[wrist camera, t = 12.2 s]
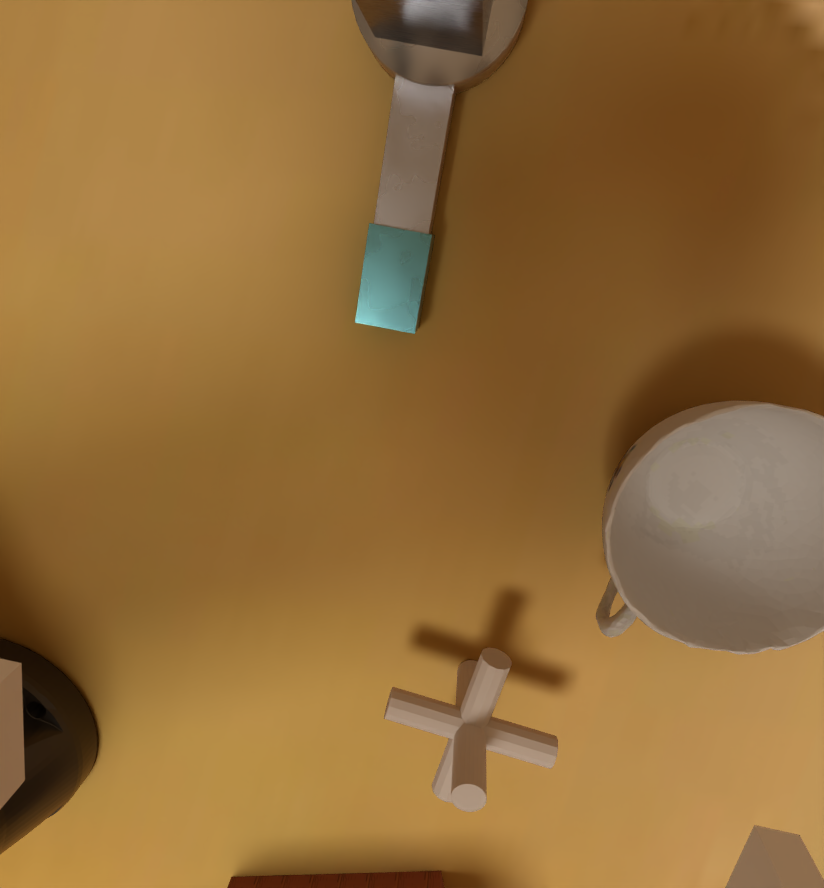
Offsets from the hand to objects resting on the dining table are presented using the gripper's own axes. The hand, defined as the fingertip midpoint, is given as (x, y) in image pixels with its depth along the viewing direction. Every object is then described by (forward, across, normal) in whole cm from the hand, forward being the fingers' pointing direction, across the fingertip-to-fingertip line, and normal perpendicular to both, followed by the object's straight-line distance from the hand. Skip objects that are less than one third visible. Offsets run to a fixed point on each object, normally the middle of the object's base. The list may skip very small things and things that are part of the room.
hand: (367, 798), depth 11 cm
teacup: (+27, +14, -2) cm, 30 cm away
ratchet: (+27, -4, +14) cm, 31 cm away
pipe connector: (+27, +5, -17) cm, 32 cm away
